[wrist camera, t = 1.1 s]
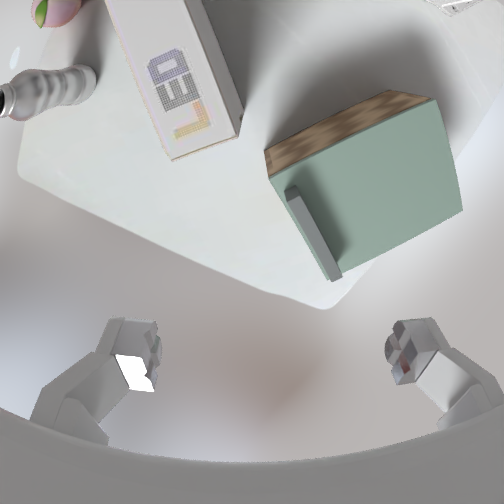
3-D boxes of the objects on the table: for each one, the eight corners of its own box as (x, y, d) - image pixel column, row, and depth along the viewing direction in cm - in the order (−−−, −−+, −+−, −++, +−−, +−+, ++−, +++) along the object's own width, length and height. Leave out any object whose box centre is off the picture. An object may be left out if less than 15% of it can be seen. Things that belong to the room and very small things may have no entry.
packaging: (141, -35, 24) (78, -82, 7) (179, -52, 23) (135, -113, 6) (204, 125, 40) (169, 163, 23) (245, 111, 39) (239, 137, 22)
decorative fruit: (59, -12, 23) (24, -21, 15) (99, -22, 24) (67, -37, 16) (50, 35, 28) (12, 34, 20) (88, 27, 29) (53, 21, 21)
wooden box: (389, 90, 36) (430, 98, 26) (420, 176, 43) (458, 206, 33) (263, 150, 42) (268, 176, 32) (311, 231, 49) (325, 275, 39)
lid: (432, 98, 25) (450, 103, 22) (459, 207, 33) (474, 220, 30) (268, 177, 32) (270, 189, 28) (325, 276, 39) (331, 295, 36)
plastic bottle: (108, 79, 35) (23, 92, 18) (83, 111, 37) (-2, 144, 20) (85, 56, 32) (-3, 61, 15) (61, 88, 34) (-27, 111, 17)
